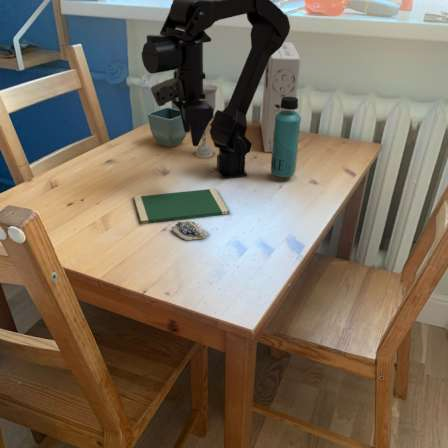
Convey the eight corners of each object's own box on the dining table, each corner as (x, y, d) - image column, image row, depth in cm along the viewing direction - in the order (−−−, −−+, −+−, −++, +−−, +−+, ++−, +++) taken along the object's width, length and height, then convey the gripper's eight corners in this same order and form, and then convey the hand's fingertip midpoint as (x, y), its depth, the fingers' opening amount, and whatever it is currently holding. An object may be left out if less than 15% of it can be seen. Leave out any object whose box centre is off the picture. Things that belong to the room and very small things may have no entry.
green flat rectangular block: (215, 191, 119) (215, 188, 118) (229, 214, 110) (229, 210, 109) (133, 199, 114) (133, 196, 114) (140, 224, 105) (140, 220, 104)
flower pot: (168, 136, 148) (167, 106, 143) (190, 143, 144) (190, 112, 139) (148, 144, 142) (146, 113, 137) (171, 151, 138) (170, 119, 133)
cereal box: (290, 153, 140) (301, 58, 124) (264, 152, 140) (271, 57, 124) (284, 128, 157) (292, 42, 141) (260, 127, 157) (266, 41, 141)
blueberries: (183, 220, 107) (183, 213, 105) (214, 230, 103) (214, 222, 102) (165, 233, 102) (165, 225, 101) (197, 244, 99) (197, 236, 98)
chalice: (197, 160, 134) (196, 92, 123) (187, 152, 138) (185, 85, 127) (221, 156, 136) (222, 89, 125) (210, 148, 141) (210, 82, 130)
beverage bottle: (297, 174, 128) (306, 95, 115) (291, 184, 123) (300, 103, 110) (273, 170, 129) (280, 92, 117) (266, 180, 124) (273, 99, 112)
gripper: (145, 58, 109) (150, 128, 118) (159, 79, 95) (163, 156, 104) (194, 56, 111) (195, 125, 121) (214, 76, 97) (213, 152, 107)
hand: (191, 138), depth 113 cm, fingers open, 9 cm apart
